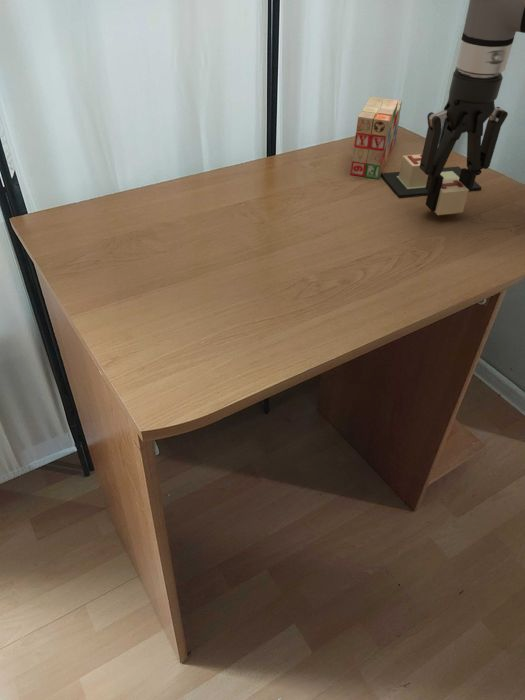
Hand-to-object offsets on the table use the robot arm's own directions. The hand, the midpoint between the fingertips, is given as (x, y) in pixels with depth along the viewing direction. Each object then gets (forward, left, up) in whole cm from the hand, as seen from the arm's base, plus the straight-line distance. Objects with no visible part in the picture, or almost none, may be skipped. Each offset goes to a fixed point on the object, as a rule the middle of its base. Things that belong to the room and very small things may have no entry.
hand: (444, 205), depth 100 cm
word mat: (+13, -4, -2) cm, 14 cm away
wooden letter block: (0, 0, 0) cm, 0 cm away
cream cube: (+13, 0, -1) cm, 13 cm away
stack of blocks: (+27, +3, -2) cm, 28 cm away
